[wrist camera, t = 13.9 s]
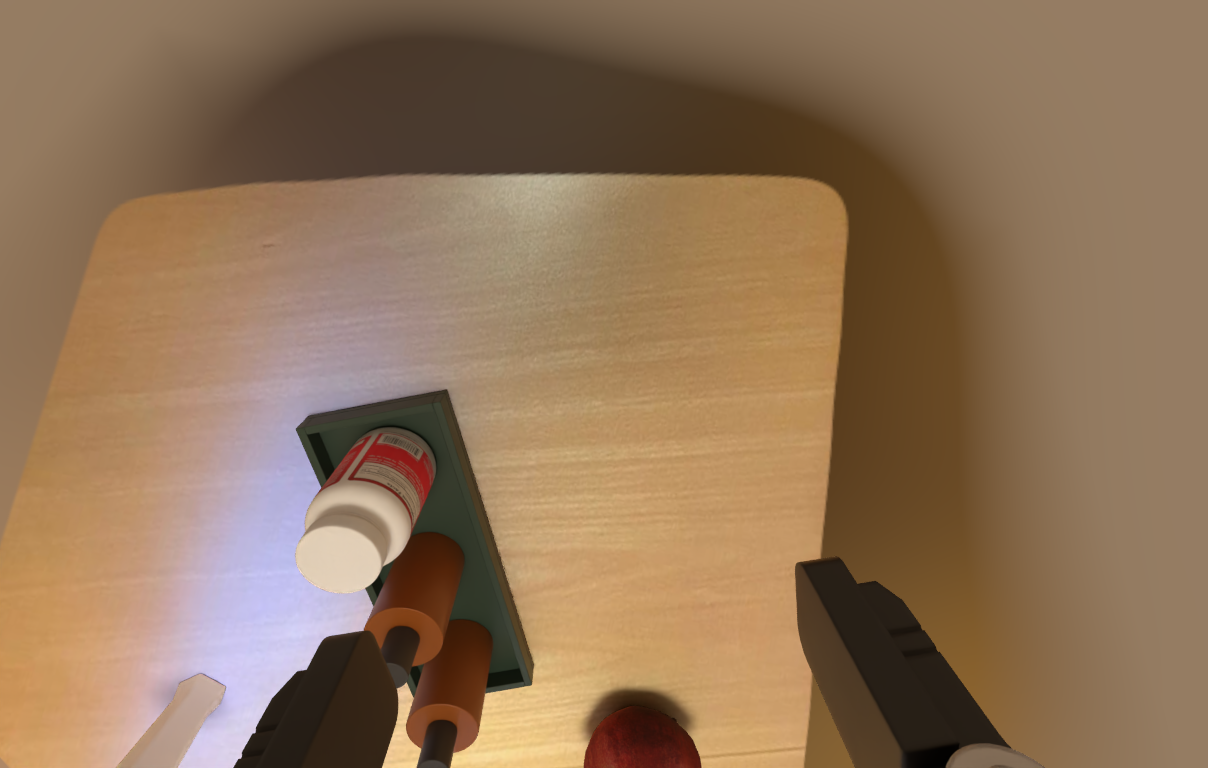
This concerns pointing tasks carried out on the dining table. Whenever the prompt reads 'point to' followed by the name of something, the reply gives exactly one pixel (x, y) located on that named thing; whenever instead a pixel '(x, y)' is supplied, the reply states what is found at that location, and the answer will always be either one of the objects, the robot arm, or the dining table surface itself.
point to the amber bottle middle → (416, 603)
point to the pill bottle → (366, 510)
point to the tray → (438, 519)
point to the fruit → (640, 742)
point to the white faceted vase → (176, 725)
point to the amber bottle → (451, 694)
